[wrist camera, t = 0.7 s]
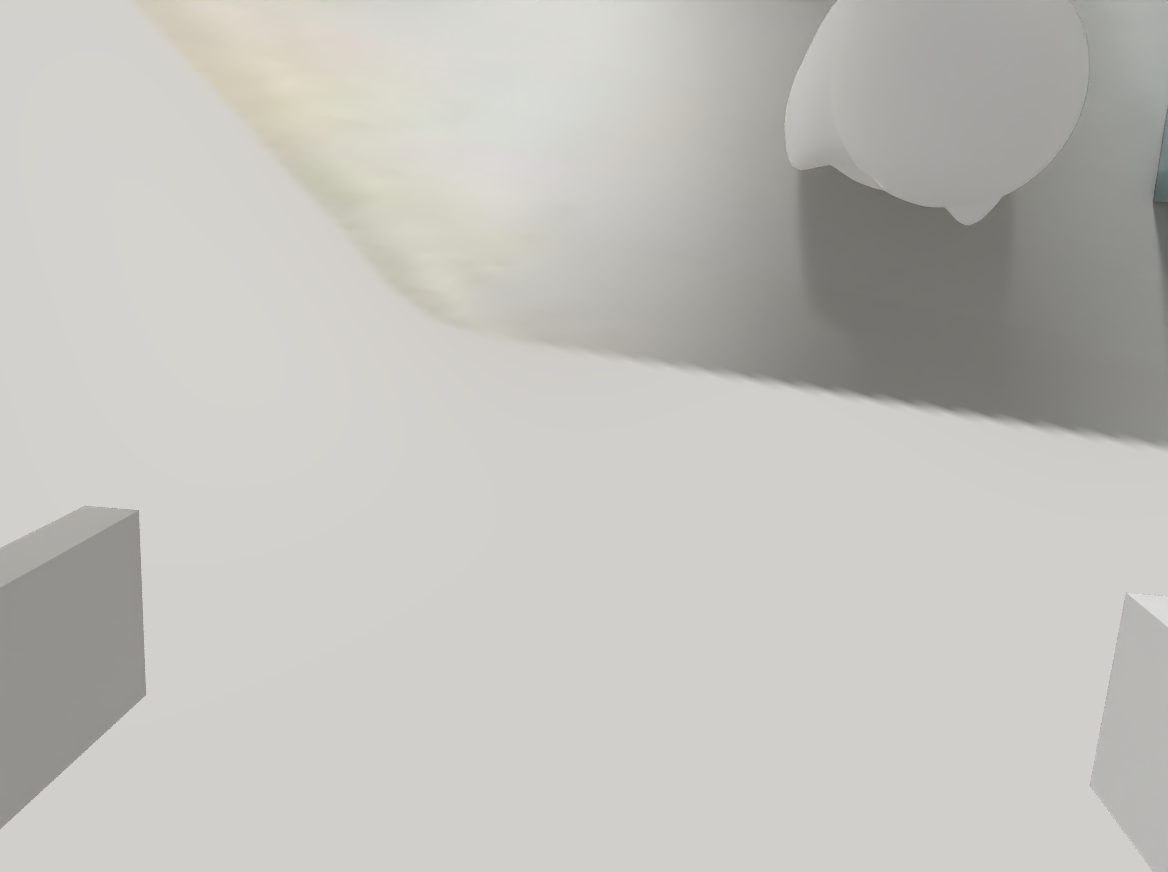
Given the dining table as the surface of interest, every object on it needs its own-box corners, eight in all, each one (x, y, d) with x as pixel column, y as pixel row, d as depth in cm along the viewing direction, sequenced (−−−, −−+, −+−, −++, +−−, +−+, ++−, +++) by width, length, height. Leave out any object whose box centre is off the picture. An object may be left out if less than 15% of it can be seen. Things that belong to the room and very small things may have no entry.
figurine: (753, 176, 35) (797, 149, 23) (833, -49, 33) (922, -200, 22) (948, 241, 35) (1089, 247, 23) (1037, 18, 33) (1238, -96, 22)
